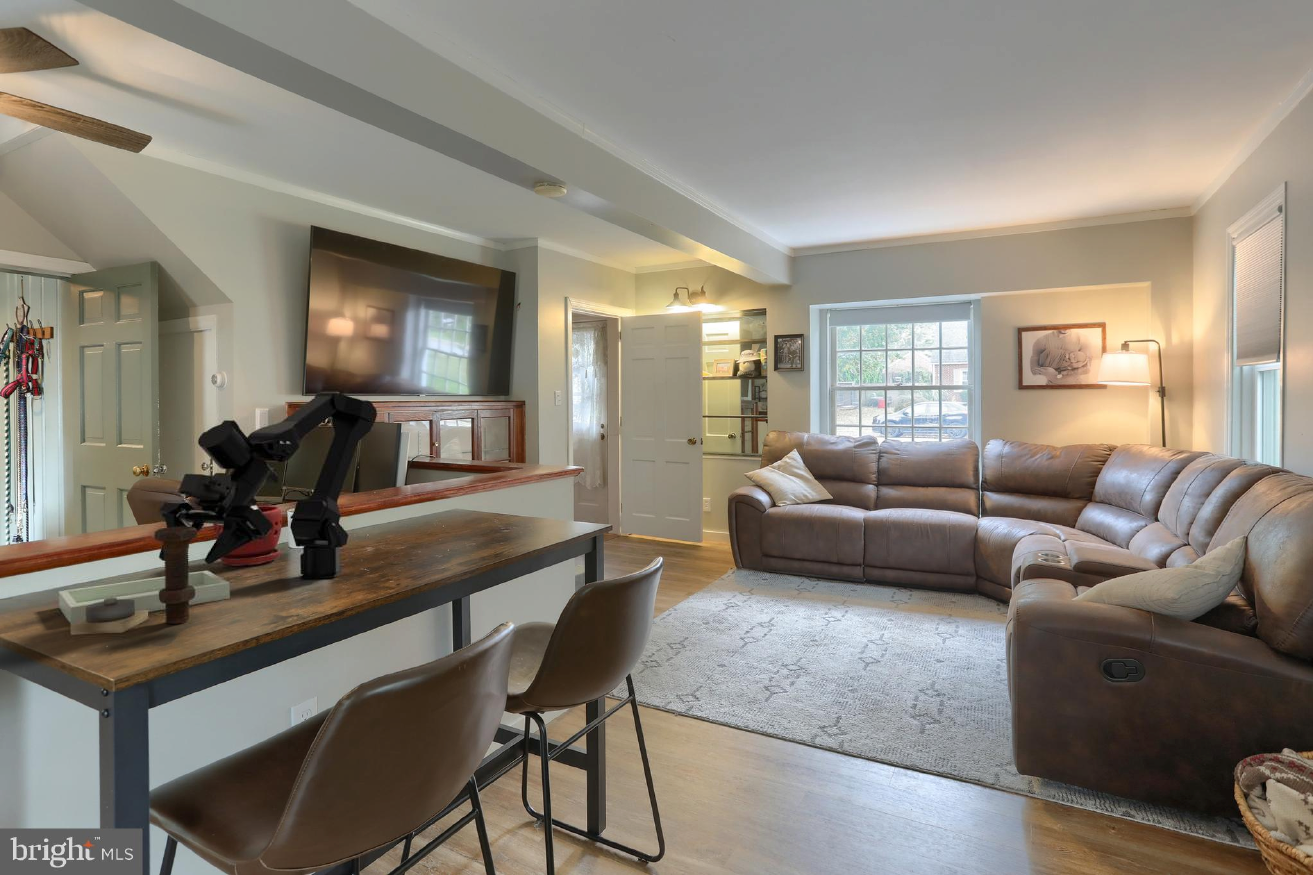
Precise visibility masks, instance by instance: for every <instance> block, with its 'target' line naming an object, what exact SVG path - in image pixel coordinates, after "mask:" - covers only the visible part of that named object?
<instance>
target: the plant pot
mask: <svg viewBox="0 0 1313 875" xmlns="http://www.w3.org/2000/svg"><path fill="white" fill-rule="evenodd" d="M256 506H257V507H258V508H259V509H260V510H261V511H262V512H263V513H264V514H265V515H266V516H267V517H268V519H269V520H270V521H271V530H270V531H269V533H268V534H267V536H266V537H265V538H263V537H258V539H257V540H256V541H251V542H249V543H248V544H246V545H244V546H242V547H240V548H238V549H236V550H234V551H232V552H230V553H229V554H227V555H225V556H224V557H222V558H220V559H219V560H220V561H221V563H223V564H225V565H228V566H233V567H246V566H245V565H247V566H257V565H261V564H264V563H265V564H266V563H268V562H271V561H273V560H275V559H276V558H278V556H280V553H281V550H280V549H279V548H276V547H277V545H278V544H279V540H280V537H281V532H282V518H283V517H282V508H281V507H280V506H275V505H256ZM212 526H213V532H214V536H215V541H216V540H217V539H218V537H219V536H220V534H221V532H222V531H223V525H217V524H213V525H212Z"/></svg>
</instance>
